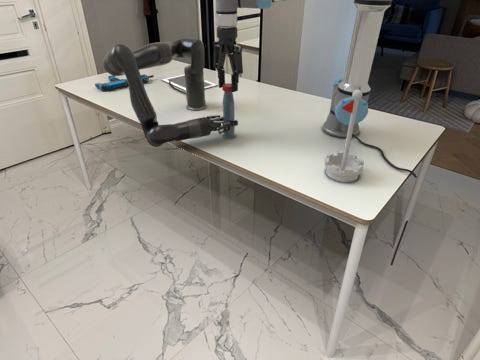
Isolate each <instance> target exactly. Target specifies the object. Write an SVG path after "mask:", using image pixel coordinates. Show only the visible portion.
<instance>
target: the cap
mask: <svg viewBox="0 0 480 360" xmlns="http://www.w3.org/2000/svg"><path fill="white" fill-rule="evenodd" d="M221 89H222V91H223V92H224V91H226V92H230V91H231V82H228V83H226V82H225V84H223V85H222V88H221Z"/></svg>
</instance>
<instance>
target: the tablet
mask: <svg viewBox="0 0 480 360" xmlns="http://www.w3.org/2000/svg"><path fill="white" fill-rule="evenodd" d="M169 80H170V81H171V85H172V86H173V87H175V88H177V89H179V90H181V91H184V92H186V84H185V74H179V75H176V76H171V77H167V78H162V79H161V81H162V82H164V83H167V84H169ZM214 87H219V84H217V83H214V82H212V81H209V80H206V79H204V89H205V90H206V89H210V88H214Z"/></svg>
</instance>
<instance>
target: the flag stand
mask: <svg viewBox="0 0 480 360" xmlns="http://www.w3.org/2000/svg"><path fill="white" fill-rule="evenodd" d="M352 97H353V98H354V100H353V101H351V102H350V103H348V104H347V105H345V106H344V107H342V108H341V109H343V110H346V111H348V112H350V113H351V117H350V122H349V127H348V133H347V138H345V144H344V149H343V150H340V151H338V150H337V151H336V153H335V154H334V153H333V152H329V153H327V154H326V158H325V159H324V162H323V163H324V168H325V169H326V170H325V173H326V175H327V176H328V178H330V179H332V180H334V181H337V182H341V183H350V182H354V181H356V180H357V179H358V178H359V175H360V174H361V173H362V172H363V171H364V166H365V161H364V159H363V158H358V155H357V154H356V153H352V152H350V154H349V151H350V147H351V142H352V138H353V137H352V132H353V127H354V122H355V117H356V112H357V107H358V101H359V99H360V98H361V97H362V92H361V91H360V90H355V91H354V92H353V94H352Z"/></svg>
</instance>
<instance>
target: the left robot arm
mask: <svg viewBox="0 0 480 360" xmlns="http://www.w3.org/2000/svg"><path fill="white" fill-rule="evenodd" d="M179 58H184V59H189V60H190V64H189V65H186V66H184V68H183V72H184V74H185V84H186V91H184V90H182V89H180V88H177V87H176V86H173V85H171V81H170V80H169V83H168V84H169V86H170V87H171V88H172V89H173V90H175V91H177V92H179V93H181V94H184V95H186V107H187V109H188V110H192V111H200V110H204V109H205V108H206V107H207V105H206V103H207V100H206V93H205V90H206V89H204V80H205V76H204V68H205V46H204V42H203V41H202V40H201V39H200V38H195V37H187V36H186V37H182V38H178V39H176V40H173V41H159V42H158V41H157V42H151V43H148V44H145V45H143V46H141V47H139V48H137V49H134V50H133V51H132V49H131V48H130V47H129V46H127V45H126V44H124V43H117V44H115V45H113V46H112V47H111V49H109V51H108V52H106V54H105V55H104V57H103V60H102V67H103V69H104V71H105V72H106V73H108V74H109V75H110V76H112V75H113V76H115V77H122V76H125V79H127V81H128V85H127V86H128V91H129V99H130V104H131V106H132V110H133V112H134V113H135V116H136V118H137V120H138V121H139V123H140V126H141V129H142V132H143V134H144V137H145V139H146V141H147V144H149V145H150V146H151V147H153V148H158V147H159V148H160V147H161V146H162V145H164V144H167V143H170V142H174V141H175V142H182V141H186V140H191V139H192V140H193V139H197V138H202V137H208V136H210V135H211V133H212V132H218V134H219V135H220V134H224V132H226V131H229V130H231V127H233V126H235V127H236V126H239V120H238V119H235V120H234V121H229V122H224V121H223V115H222V116H221V115H220V114H218V115H207V116H203V117H198V118H192V119H188V120H185V121H180V122H176V123H168V124H167V123H166V124H159V122H158V117H157V116H158V115H157V112H156V111H155V109H154V106H153V104H152V102H151V100H150V99H149V96H148V93H147V91H146V88H145V85H144V82H143V81H142V78H141V75H142V74H141V72H140V71H141V70H144V69H150V68H155V67H156V68H157V67H161V66H166V65H168V64H170V63H171V62H172V61H173V60H174V59H179ZM184 74H183V75H184ZM224 124H226V125H224ZM226 128H227V129H226Z"/></svg>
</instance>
